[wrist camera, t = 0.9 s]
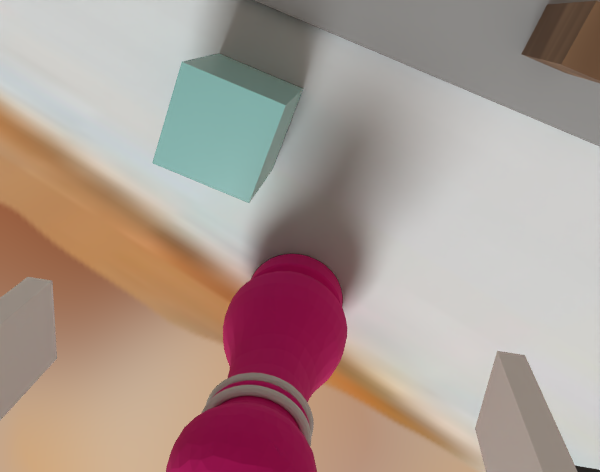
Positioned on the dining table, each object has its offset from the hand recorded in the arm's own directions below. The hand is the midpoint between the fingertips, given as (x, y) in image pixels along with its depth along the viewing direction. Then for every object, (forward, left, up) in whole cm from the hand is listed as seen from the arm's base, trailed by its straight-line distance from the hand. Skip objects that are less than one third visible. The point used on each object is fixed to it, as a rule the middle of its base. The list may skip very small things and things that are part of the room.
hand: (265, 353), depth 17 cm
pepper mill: (+1, -8, -19) cm, 21 cm away
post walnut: (+8, +12, -18) cm, 23 cm away
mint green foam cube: (-6, +2, -19) cm, 20 cm away
